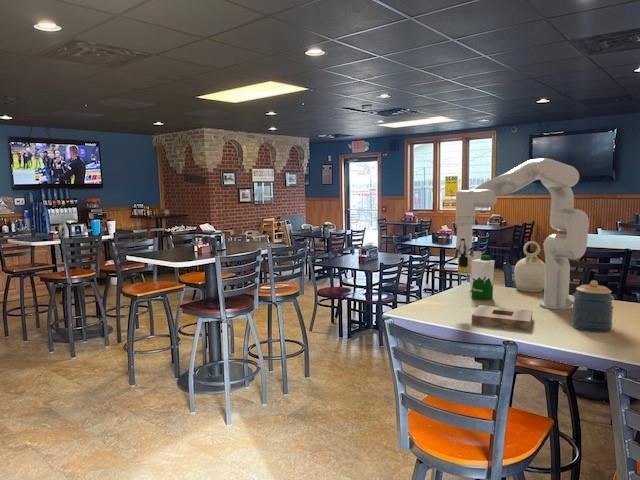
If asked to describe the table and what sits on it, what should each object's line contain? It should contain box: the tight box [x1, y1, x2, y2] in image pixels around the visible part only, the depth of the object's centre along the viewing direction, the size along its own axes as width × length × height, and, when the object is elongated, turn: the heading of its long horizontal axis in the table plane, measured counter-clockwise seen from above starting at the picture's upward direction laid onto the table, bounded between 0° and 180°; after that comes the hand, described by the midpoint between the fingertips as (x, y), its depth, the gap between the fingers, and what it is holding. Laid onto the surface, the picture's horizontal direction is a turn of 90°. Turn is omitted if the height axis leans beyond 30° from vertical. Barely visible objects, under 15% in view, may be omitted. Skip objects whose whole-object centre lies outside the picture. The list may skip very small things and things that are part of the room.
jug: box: [513, 240, 545, 293], centre depth 241 cm, size 15×16×25 cm
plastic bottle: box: [469, 250, 483, 291], centre depth 238 cm, size 6×7×20 cm
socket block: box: [471, 304, 534, 332], centre depth 181 cm, size 20×18×4 cm
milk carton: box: [470, 254, 496, 301], centre depth 221 cm, size 9×9×20 cm
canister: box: [571, 279, 615, 333], centre depth 173 cm, size 13×13×18 cm
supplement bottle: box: [457, 249, 473, 276], centre depth 192 cm, size 5×5×10 cm
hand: (464, 265), depth 192 cm, fingers closed on supplement bottle, 5 cm apart
